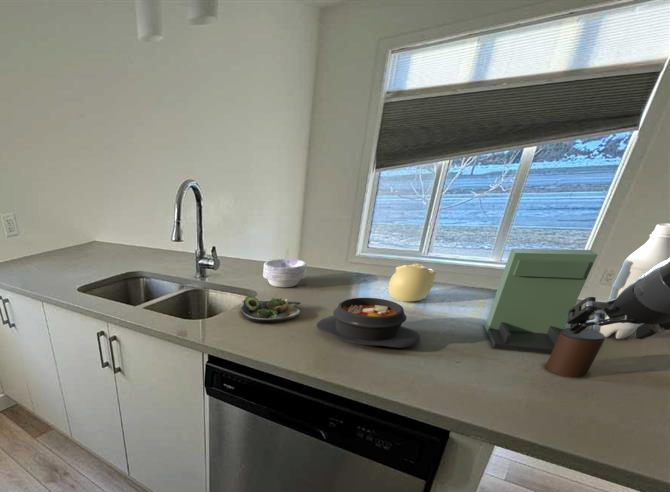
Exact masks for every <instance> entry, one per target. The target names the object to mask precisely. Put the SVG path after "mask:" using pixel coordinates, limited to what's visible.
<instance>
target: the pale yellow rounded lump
mask: <svg viewBox="0 0 670 492" xmlns="http://www.w3.org/2000/svg"><path fill="white" fill-rule="evenodd" d="M436 274H437V271H436V270H434V269H432V268H428V267H427V266H424V265H423V264H421V263H413V264H404V265H399V266H396V267H395V272H394V273H393V275H392V276H391V277H390V279H389V283H388V293H389V295H390V297H392V298H393V299H394V300H397V301H401V302H417V301H422V300H423V299H425V298H426V297H427V296H428V295H429V293H430V292H431V290H432V288H433V285H434V284H435V283H434V282H435V277H436Z"/></svg>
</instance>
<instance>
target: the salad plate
mask: <svg viewBox="0 0 670 492" xmlns="http://www.w3.org/2000/svg"><path fill="white" fill-rule="evenodd" d="M241 303H242V304H240V305H239V310H240V311H239V312H240V313H241V315H242V316H243V317H244V319H246V320H247V321H249V322H251V323H255V324H271V323H278V322H283V321H286V320H290V319H291V320H292V319H293V318H295V317H297V316H298V315H300V313H301V311H300V309H298V308H297V307H295V306H297V305H301V303H302V302H301V301H293V300H292V301H290V300H289V301H288V299H287V298H285V299H282V298H281V297H280V298H278V297H277V298H274V297H272V298H270V299H265V300H259V299H258V298H256V297H255V296H252V295H251V296H246V297H245V298H244V300H243V301H241Z"/></svg>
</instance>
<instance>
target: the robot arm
mask: <svg viewBox="0 0 670 492" xmlns="http://www.w3.org/2000/svg"><path fill="white" fill-rule="evenodd" d="M607 301H608V300H607ZM607 301H606V302H605V301H604V302H603V301H597V297H595V296H587V297H585V298H584V299H583V300H581V301H580V302H578V303H577V304H575V305H574V307H573V308H571V309H570V310H569V312H568V313H569V316H568V321H567V325H570V326H569V328H570V331H572V334H578V333H580V332H581V331H583V330H584V329H588V328H589V327H590V326H594V325H596V324H597V325H600V326H604V325H609V324H614V323H633V324H640V325H639V327H638V328H637V329H636V330H635V339H636V340H644V339H646V338H651V337H652V336H654V335H657V334H658V333H659V334H660V333H665V332H666V331H669V330H670V258H669V259H667V260H665V261H663V262H661V263H660V264H658V265H656V266H655V267H653V268H652V269H651V270H649V271H648V272H647V273H645V274H644V275H643V276H641V277H640V278H639V279H637V280H636V281H635V282H633V283H632V284H631V285H629V286H628V287H627V288H625V289H624V290H623V291H622V292H621V294H620V295H619V296H618V297H617V298H616V299H613V300H610V301H608V302H607ZM605 313H606V314H607V316H608V317H609V319H605ZM591 316H594V318H592V319H590V317H591Z"/></svg>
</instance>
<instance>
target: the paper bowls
mask: <svg viewBox="0 0 670 492" xmlns="http://www.w3.org/2000/svg"><path fill="white" fill-rule="evenodd" d="M307 266H308V263H307V262H306V261H304V260H301V259H295V258H277V259H276V258H275V259H270V260H267V261H265V262H264V263H263V271H262V276H263V278H264V279H266V280H267V281H268V283H269V285H270V286H272V287H276V288H292V287H296V286H297V285H298V284H299V282H300V281H301V280H303V279H305V278H306V275H307Z"/></svg>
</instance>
